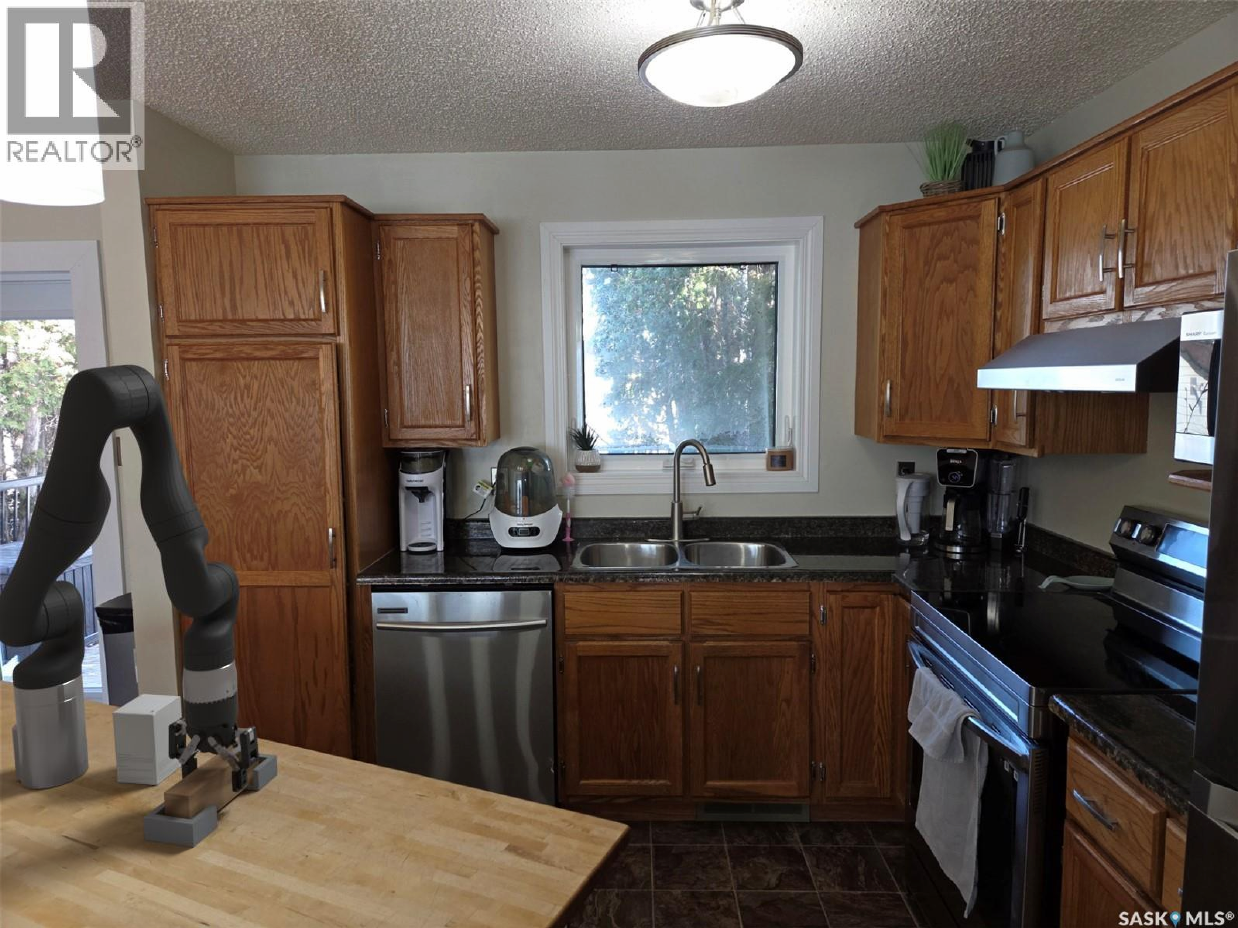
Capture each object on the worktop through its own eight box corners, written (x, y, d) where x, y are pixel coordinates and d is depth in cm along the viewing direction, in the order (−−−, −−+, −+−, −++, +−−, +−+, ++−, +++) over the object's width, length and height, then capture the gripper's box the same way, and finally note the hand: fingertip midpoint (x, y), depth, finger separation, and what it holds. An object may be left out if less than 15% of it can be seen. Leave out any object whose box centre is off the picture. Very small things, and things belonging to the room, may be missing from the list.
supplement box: (186, 763, 133) (182, 695, 131) (156, 786, 126) (152, 714, 124) (147, 759, 134) (143, 692, 132) (115, 782, 126) (110, 711, 125)
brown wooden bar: (165, 829, 113) (163, 792, 113) (237, 773, 129) (235, 740, 128) (190, 833, 113) (188, 795, 112) (259, 776, 128) (258, 743, 127)
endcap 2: (277, 774, 130) (276, 755, 129) (259, 790, 125) (258, 770, 125) (234, 769, 131) (233, 749, 131) (214, 784, 126) (213, 764, 126)
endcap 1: (144, 839, 112) (143, 817, 111) (170, 819, 117) (168, 798, 116) (193, 847, 110) (192, 824, 110) (217, 826, 115) (216, 804, 115)
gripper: (152, 695, 116) (157, 793, 118) (235, 705, 113) (239, 805, 116) (187, 676, 123) (192, 768, 125) (266, 684, 121) (270, 779, 123)
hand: (215, 786), depth 120 cm, fingers open, 8 cm apart
